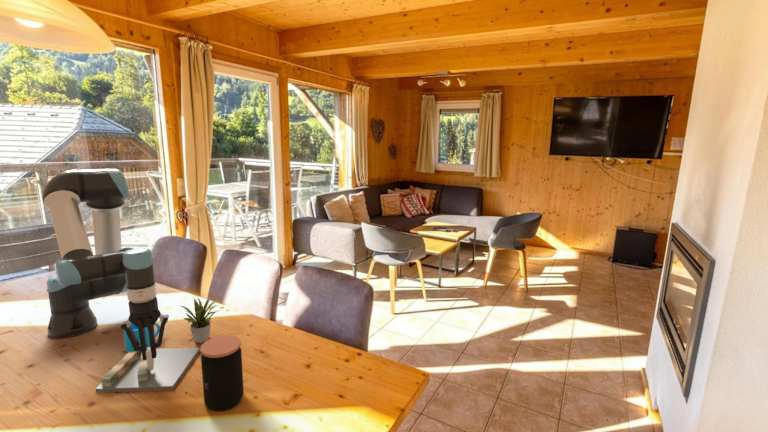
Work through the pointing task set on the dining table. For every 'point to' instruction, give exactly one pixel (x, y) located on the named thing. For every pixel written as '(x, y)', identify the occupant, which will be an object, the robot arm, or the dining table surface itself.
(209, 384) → the coffee jar
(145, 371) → the bar
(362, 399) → the dining table surface
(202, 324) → the house plant
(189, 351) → the board
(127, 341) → the mug
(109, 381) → the tongs base
